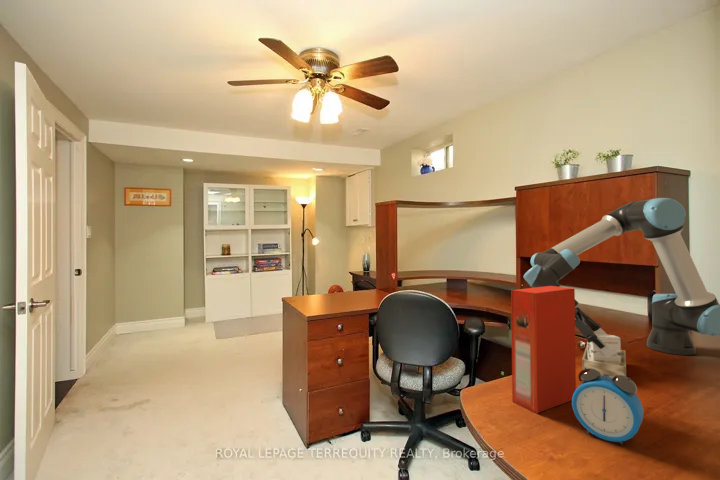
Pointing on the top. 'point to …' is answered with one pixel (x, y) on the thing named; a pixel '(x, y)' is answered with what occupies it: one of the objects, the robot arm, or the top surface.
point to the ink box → (598, 356)
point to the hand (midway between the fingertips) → (612, 350)
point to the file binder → (543, 347)
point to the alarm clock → (607, 406)
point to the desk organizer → (605, 365)
